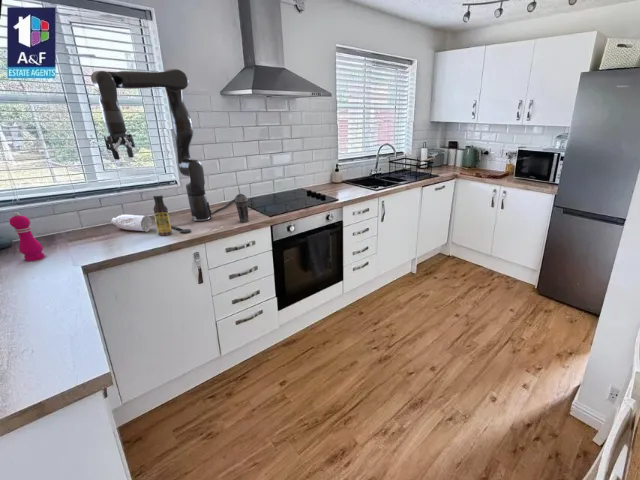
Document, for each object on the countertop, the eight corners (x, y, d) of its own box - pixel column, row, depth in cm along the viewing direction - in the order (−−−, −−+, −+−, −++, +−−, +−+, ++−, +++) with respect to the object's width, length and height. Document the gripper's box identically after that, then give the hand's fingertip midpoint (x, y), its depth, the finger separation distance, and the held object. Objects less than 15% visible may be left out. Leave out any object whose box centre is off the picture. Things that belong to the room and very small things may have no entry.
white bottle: (122, 226, 197) (117, 211, 194) (154, 228, 195) (150, 214, 192) (110, 230, 190) (105, 215, 187) (143, 233, 188) (139, 218, 185)
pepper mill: (28, 263, 151) (7, 215, 142) (21, 259, 155) (0, 212, 146) (49, 257, 157) (30, 211, 148) (42, 254, 160) (23, 208, 151)
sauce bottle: (158, 236, 185) (148, 197, 176) (158, 233, 190) (149, 194, 181) (173, 235, 187) (163, 196, 179) (173, 231, 192) (164, 193, 184)
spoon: (172, 225, 201) (172, 223, 200) (192, 231, 193) (192, 229, 193) (163, 228, 197) (163, 225, 197) (184, 234, 189) (183, 231, 189)
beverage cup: (253, 219, 216) (248, 185, 207) (247, 223, 209) (242, 187, 200) (241, 219, 216) (236, 184, 207) (235, 222, 210) (229, 187, 201)
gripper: (109, 122, 162) (119, 160, 169) (133, 121, 174) (142, 156, 182) (93, 121, 163) (105, 159, 170) (119, 120, 175) (128, 156, 183)
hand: (124, 158), depth 176 cm, fingers open, 8 cm apart
